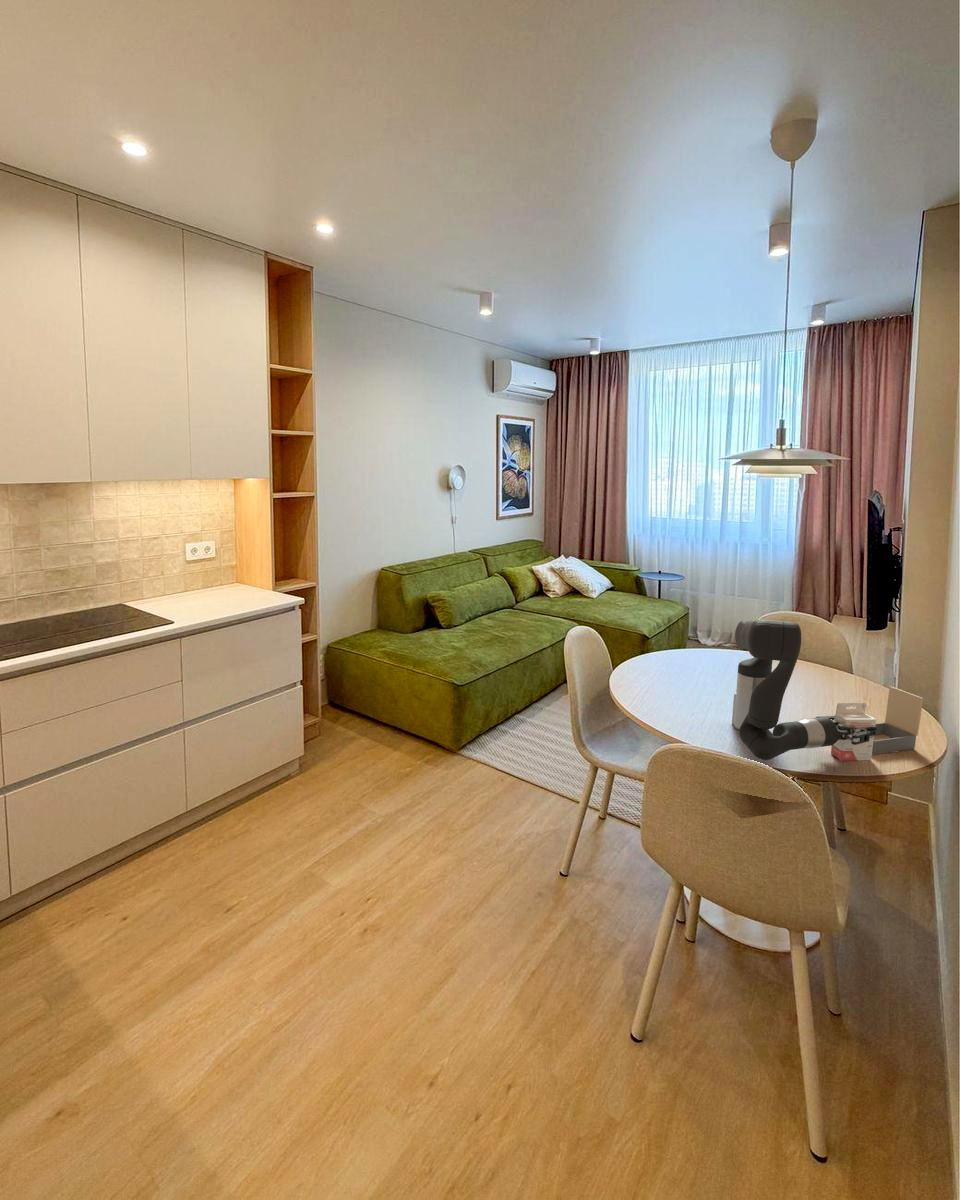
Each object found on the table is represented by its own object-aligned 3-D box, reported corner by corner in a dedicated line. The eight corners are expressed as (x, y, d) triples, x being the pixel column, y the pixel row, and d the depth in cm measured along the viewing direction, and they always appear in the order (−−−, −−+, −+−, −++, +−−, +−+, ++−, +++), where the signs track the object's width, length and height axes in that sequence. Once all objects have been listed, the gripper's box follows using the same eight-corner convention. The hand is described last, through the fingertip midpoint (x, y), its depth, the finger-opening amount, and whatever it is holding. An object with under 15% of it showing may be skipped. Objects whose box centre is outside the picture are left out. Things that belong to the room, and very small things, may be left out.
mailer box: (844, 740, 180) (849, 690, 177) (885, 735, 184) (891, 686, 181) (873, 755, 171) (880, 702, 168) (916, 749, 174) (923, 697, 171)
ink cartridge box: (841, 761, 167) (846, 708, 164) (830, 753, 172) (835, 702, 169) (872, 760, 167) (878, 708, 164) (860, 753, 172) (866, 701, 169)
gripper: (836, 730, 157) (890, 723, 161) (794, 709, 170) (845, 703, 174) (833, 757, 158) (887, 750, 162) (792, 735, 172) (842, 729, 176)
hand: (865, 726), depth 168 cm, fingers closed on ink cartridge box, 5 cm apart
